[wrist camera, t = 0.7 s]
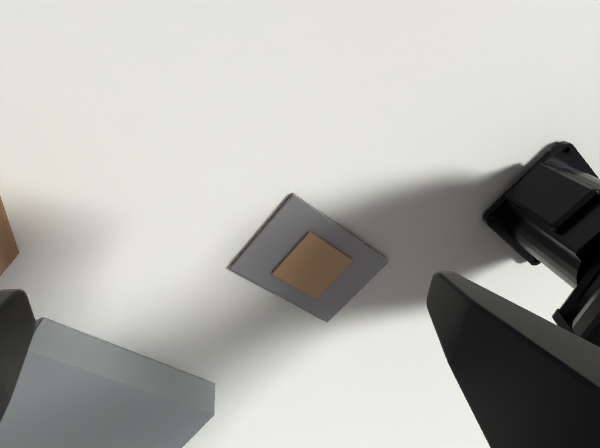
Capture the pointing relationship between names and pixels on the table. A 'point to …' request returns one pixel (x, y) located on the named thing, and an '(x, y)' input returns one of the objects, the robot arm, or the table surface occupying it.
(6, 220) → the walnut pillar
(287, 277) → the card
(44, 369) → the slate slab
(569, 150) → the robot arm
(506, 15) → the table surface
